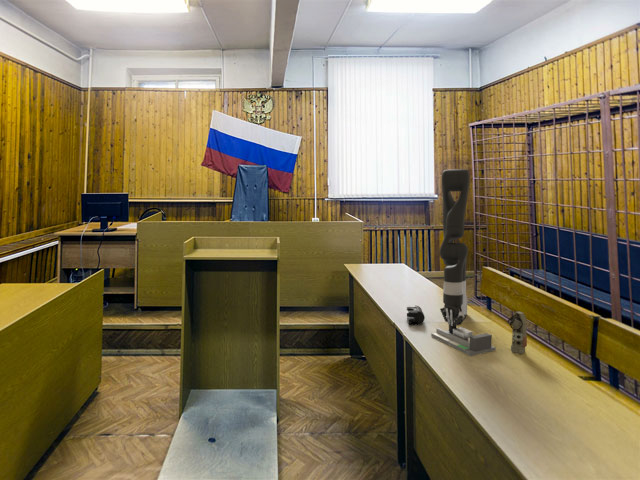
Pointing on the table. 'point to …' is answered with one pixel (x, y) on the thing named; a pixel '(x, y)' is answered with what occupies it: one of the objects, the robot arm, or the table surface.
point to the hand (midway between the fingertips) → (452, 333)
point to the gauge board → (466, 342)
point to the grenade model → (518, 332)
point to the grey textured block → (462, 333)
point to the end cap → (415, 315)
